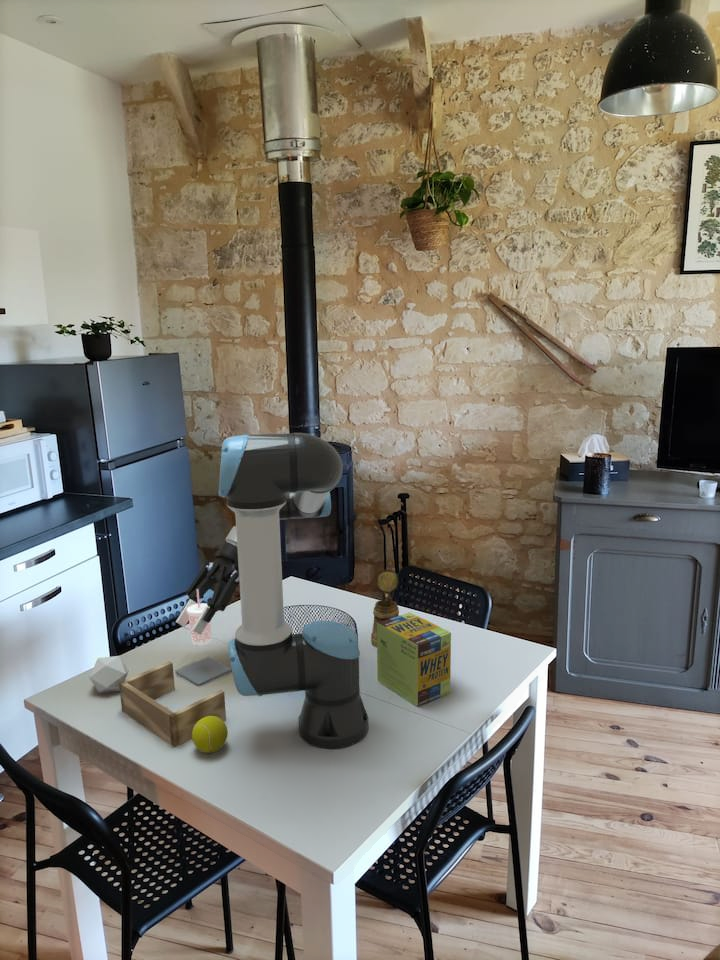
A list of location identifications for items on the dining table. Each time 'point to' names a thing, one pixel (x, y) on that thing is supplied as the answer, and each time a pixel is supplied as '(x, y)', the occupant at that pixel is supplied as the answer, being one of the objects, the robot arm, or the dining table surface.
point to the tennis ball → (209, 734)
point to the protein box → (414, 658)
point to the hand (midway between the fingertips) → (188, 628)
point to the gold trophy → (385, 601)
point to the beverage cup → (193, 615)
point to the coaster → (203, 671)
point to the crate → (157, 717)
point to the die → (108, 674)
